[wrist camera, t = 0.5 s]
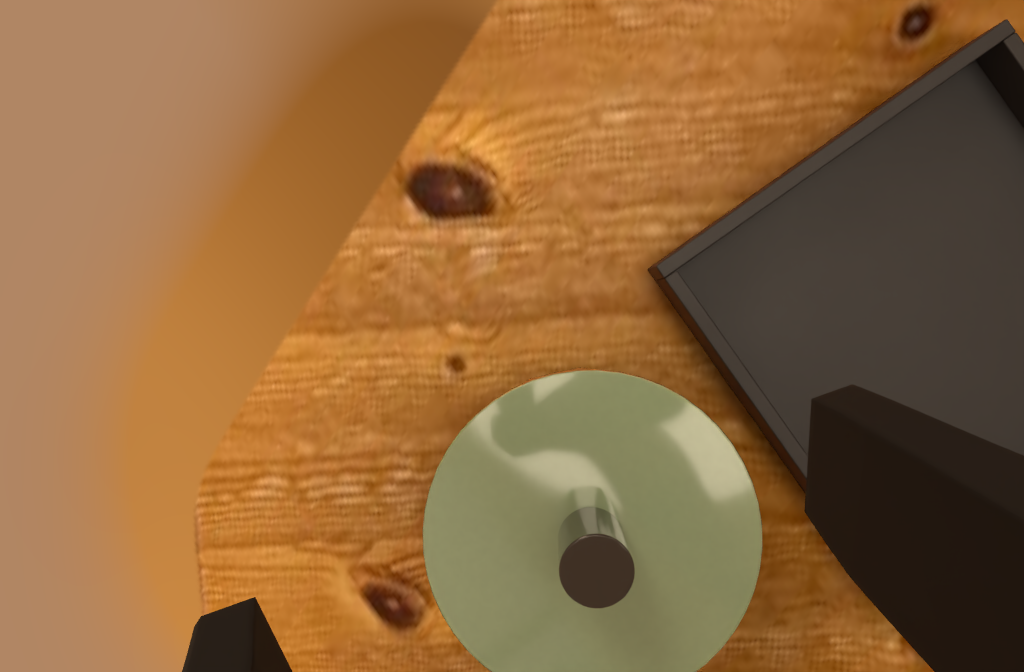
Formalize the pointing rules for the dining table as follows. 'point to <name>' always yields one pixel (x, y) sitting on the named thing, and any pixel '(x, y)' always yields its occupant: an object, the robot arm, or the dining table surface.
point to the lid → (592, 529)
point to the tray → (879, 263)
